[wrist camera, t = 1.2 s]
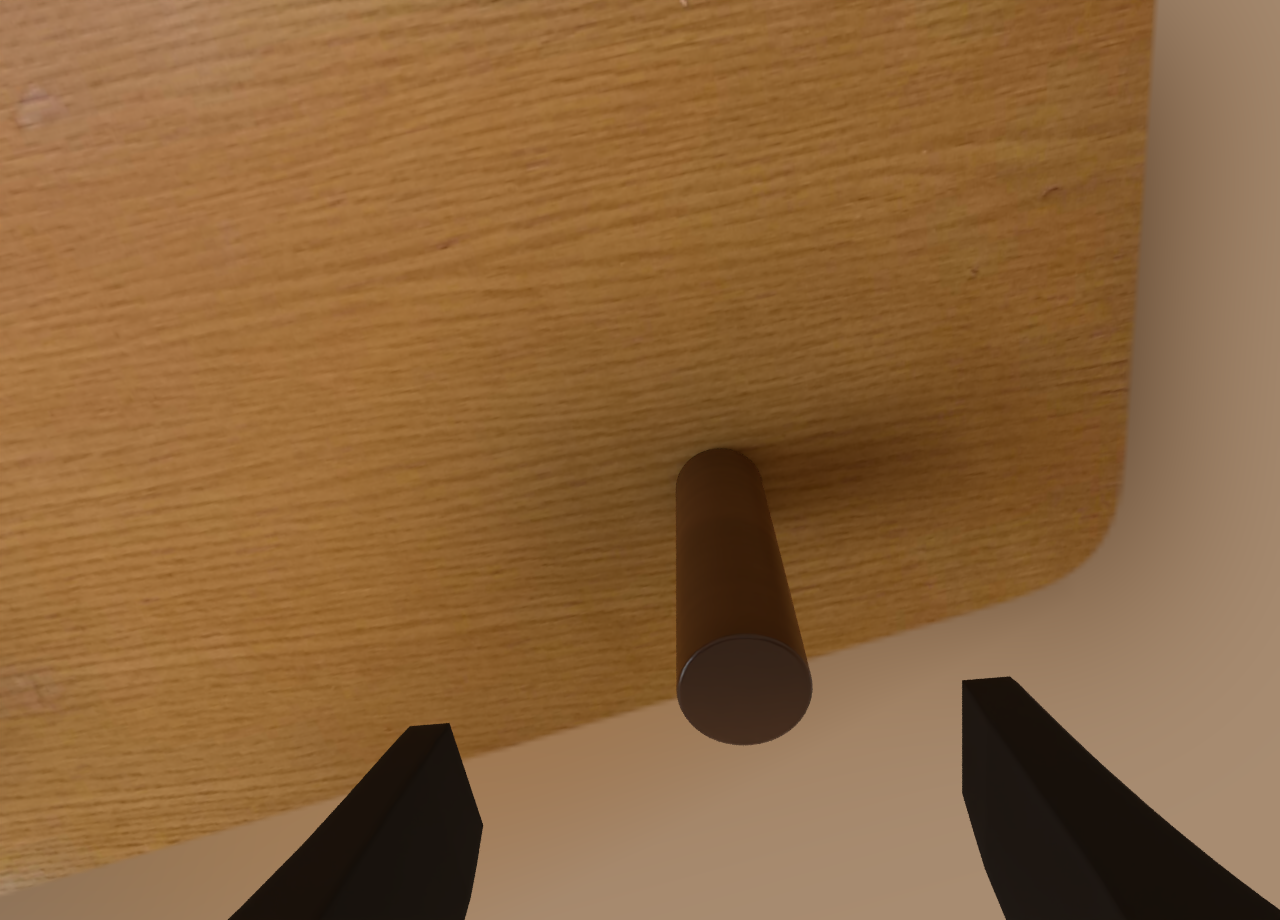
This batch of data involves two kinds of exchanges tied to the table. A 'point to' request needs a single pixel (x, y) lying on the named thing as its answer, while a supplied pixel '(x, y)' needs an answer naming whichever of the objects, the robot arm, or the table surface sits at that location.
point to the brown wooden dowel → (734, 607)
